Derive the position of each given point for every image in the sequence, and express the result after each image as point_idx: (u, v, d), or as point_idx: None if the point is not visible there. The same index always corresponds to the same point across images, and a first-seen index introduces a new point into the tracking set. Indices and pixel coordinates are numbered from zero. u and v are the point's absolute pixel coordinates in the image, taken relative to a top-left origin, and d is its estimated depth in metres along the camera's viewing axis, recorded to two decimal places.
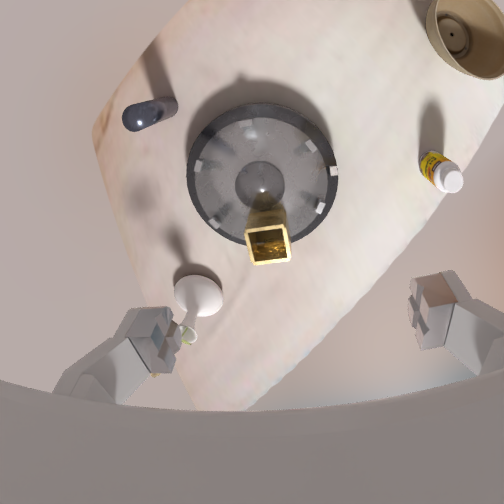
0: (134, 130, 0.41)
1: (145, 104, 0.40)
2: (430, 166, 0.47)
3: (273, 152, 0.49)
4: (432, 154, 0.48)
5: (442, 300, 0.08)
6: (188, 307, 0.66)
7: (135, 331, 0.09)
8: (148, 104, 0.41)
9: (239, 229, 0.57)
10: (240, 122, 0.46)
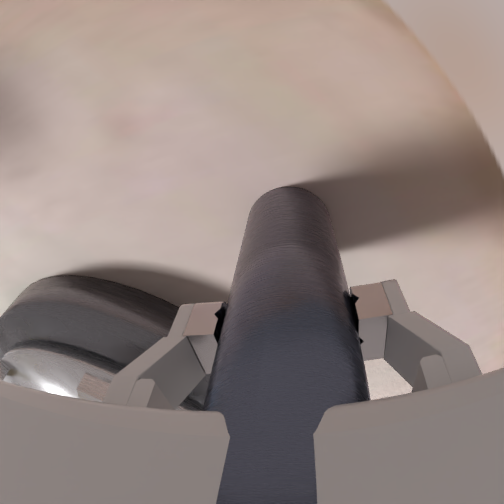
0: None
1: None
2: None
3: None
4: None
5: (375, 312, 0.08)
6: None
7: (193, 329, 0.09)
8: None
9: None
10: None
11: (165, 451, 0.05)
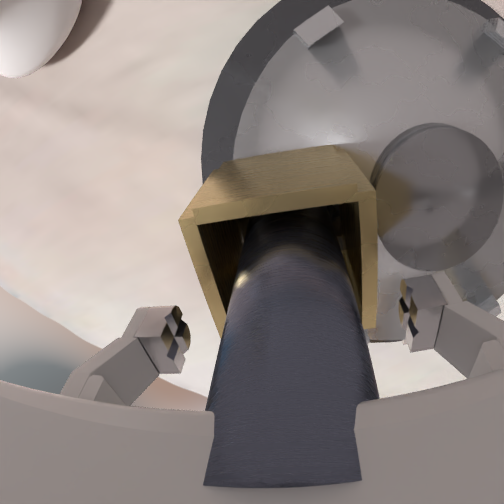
0: None
1: None
2: None
3: (494, 234, 0.16)
4: None
5: (431, 302, 0.08)
6: None
7: (143, 331, 0.09)
8: None
9: (282, 111, 0.14)
10: None
11: (165, 451, 0.05)
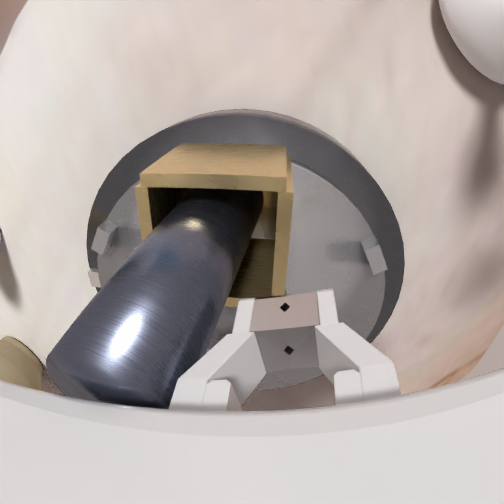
0: (101, 369, 0.06)
1: None
2: None
3: None
4: None
5: (302, 321, 0.08)
6: None
7: (260, 324, 0.09)
8: None
9: (320, 212, 0.19)
10: None
11: (165, 451, 0.05)
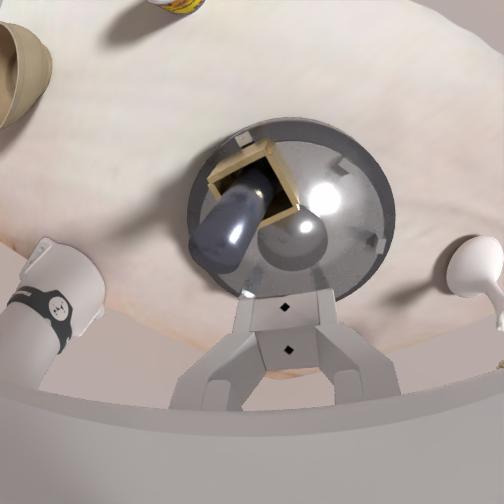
0: (206, 231, 0.22)
1: None
2: (171, 7, 0.25)
3: (287, 276, 0.40)
4: None
5: (302, 321, 0.08)
6: (484, 292, 0.38)
7: (260, 324, 0.09)
8: None
9: (305, 158, 0.33)
10: None
11: (165, 451, 0.05)
